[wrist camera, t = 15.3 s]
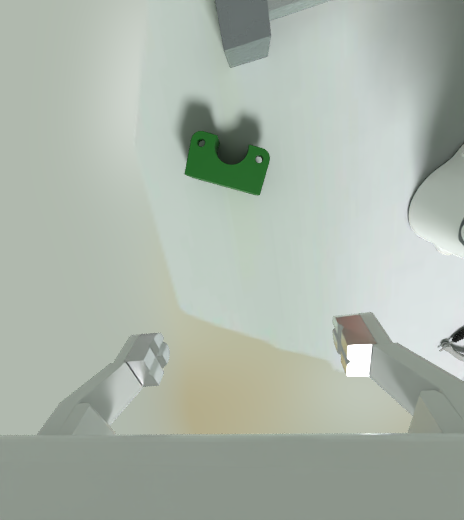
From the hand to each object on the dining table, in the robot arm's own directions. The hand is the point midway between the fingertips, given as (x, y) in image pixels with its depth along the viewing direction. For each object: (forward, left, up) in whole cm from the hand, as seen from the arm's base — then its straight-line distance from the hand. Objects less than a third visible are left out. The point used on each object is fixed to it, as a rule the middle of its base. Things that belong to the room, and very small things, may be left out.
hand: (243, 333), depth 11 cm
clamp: (+3, -5, -32) cm, 32 cm away
